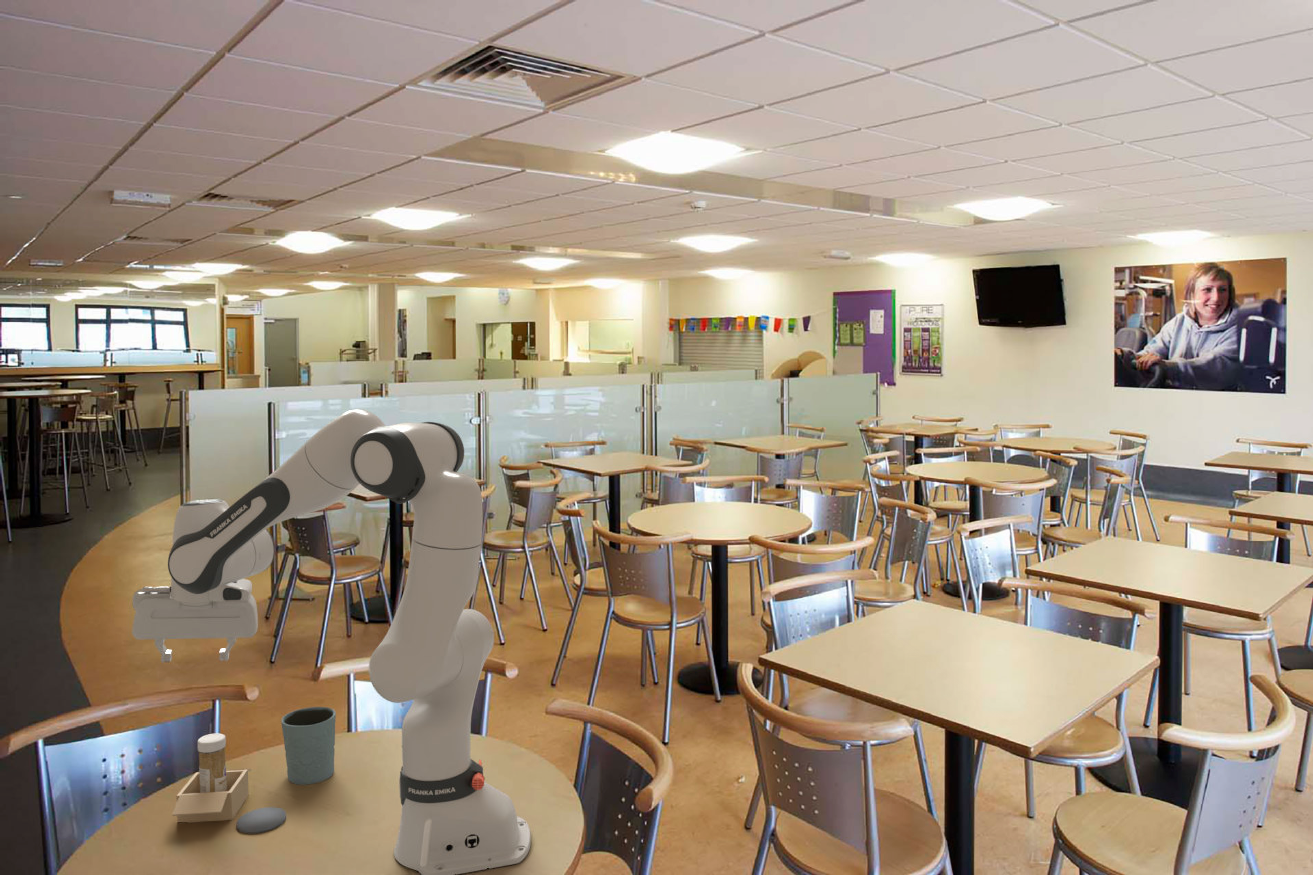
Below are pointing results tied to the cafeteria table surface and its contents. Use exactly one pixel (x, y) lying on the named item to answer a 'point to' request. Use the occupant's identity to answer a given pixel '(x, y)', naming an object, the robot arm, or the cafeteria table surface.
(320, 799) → the cafeteria table surface
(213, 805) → the carton
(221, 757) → the sprinkles bottle
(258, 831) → the coaster
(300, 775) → the teal cup
